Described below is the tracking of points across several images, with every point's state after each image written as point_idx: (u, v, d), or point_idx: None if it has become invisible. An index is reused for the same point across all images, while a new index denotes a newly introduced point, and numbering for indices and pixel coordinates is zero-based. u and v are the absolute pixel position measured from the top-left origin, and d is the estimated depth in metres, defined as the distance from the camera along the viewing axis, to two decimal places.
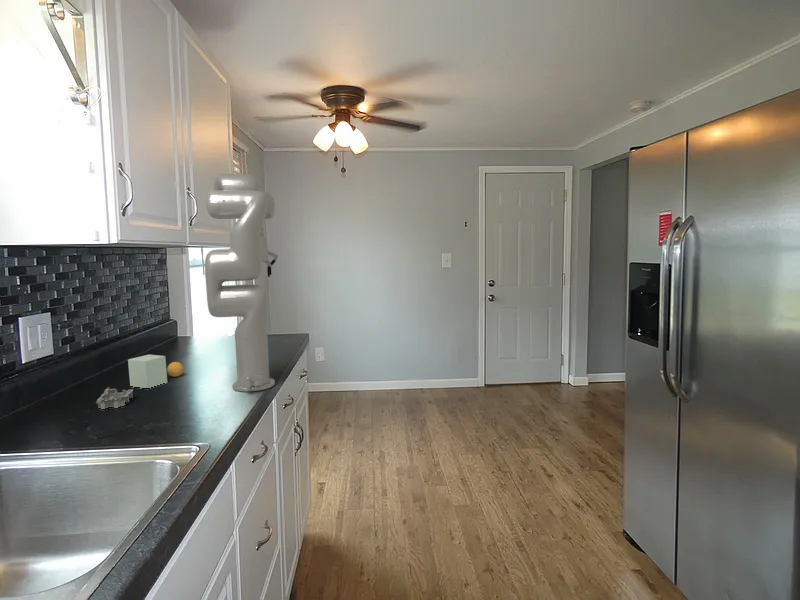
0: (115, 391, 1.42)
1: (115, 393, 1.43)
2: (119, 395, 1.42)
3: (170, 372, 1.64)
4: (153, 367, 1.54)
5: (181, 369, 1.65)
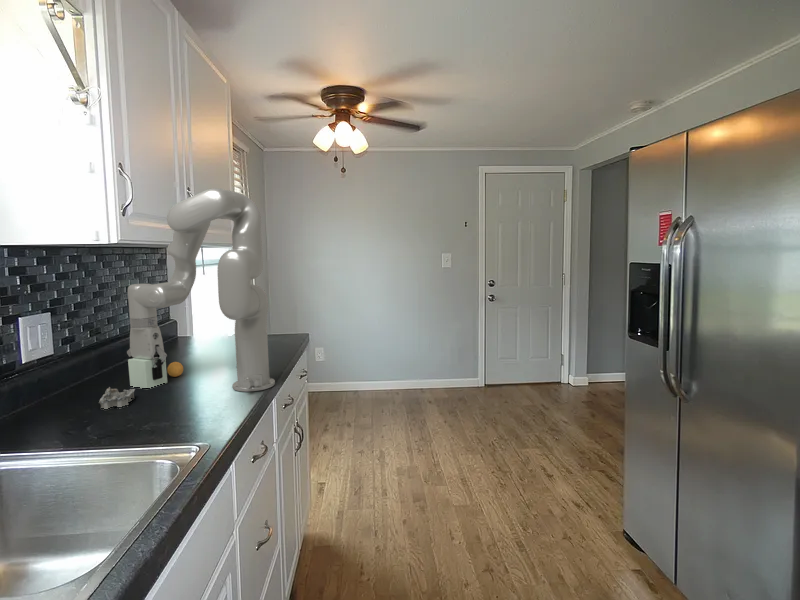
0: (116, 391, 1.43)
1: (116, 393, 1.43)
2: (120, 395, 1.42)
3: (170, 372, 1.64)
4: None
5: (181, 369, 1.65)
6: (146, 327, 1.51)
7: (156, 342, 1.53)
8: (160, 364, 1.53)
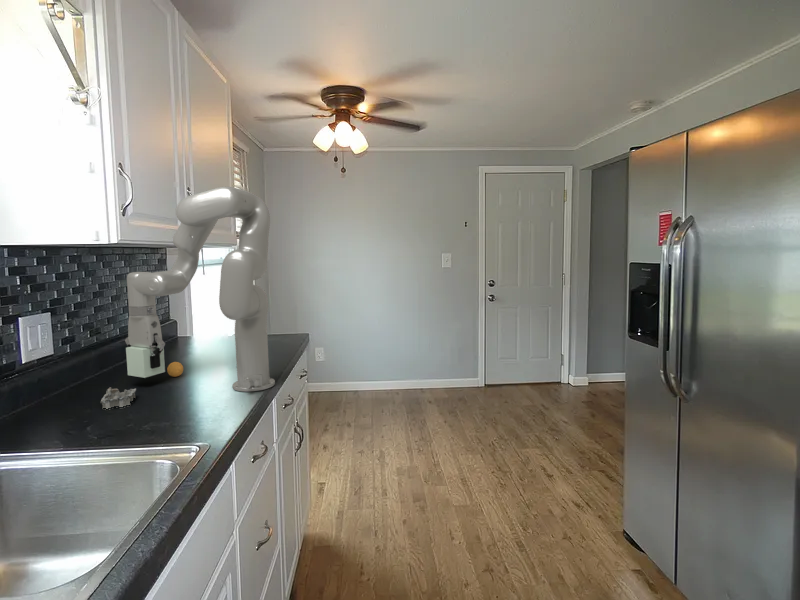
0: (117, 391, 1.43)
1: (117, 393, 1.43)
2: (121, 395, 1.42)
3: (170, 372, 1.64)
4: None
5: (181, 369, 1.65)
6: (145, 315, 1.51)
7: (154, 331, 1.52)
8: (158, 353, 1.53)
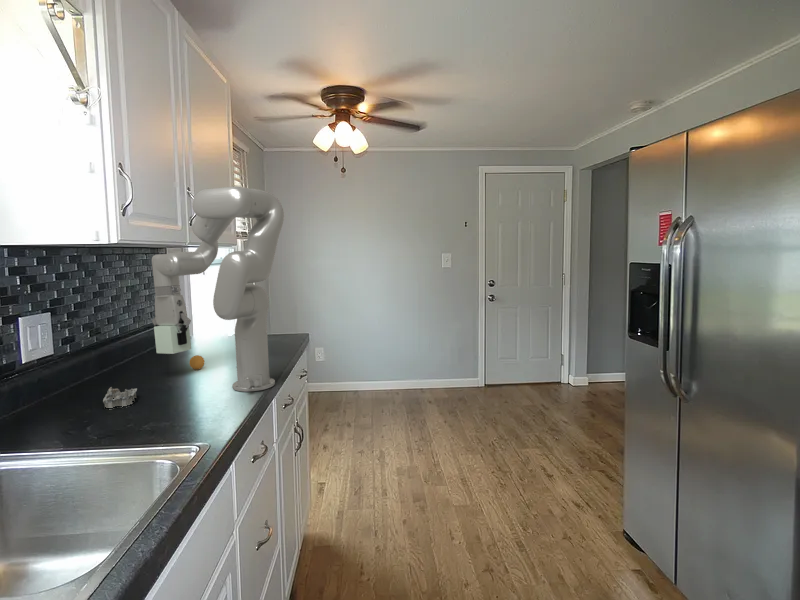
0: (117, 391, 1.43)
1: (117, 393, 1.43)
2: (122, 395, 1.42)
3: None
4: None
5: (202, 362, 1.74)
6: (170, 294, 1.59)
7: (180, 309, 1.60)
8: (184, 330, 1.61)
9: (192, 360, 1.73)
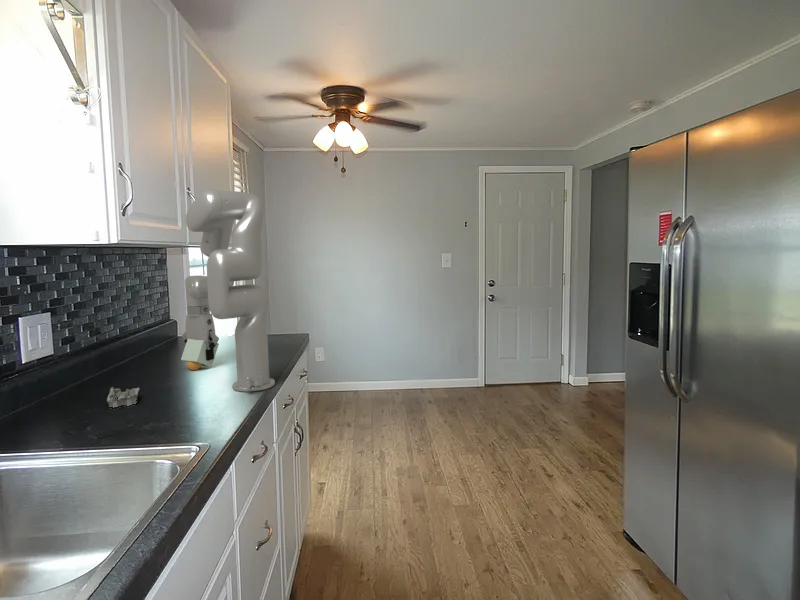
0: (118, 391, 1.43)
1: (118, 393, 1.43)
2: (124, 394, 1.42)
3: None
4: None
5: (199, 363, 1.73)
6: (201, 314, 1.72)
7: (209, 327, 1.73)
8: (213, 347, 1.74)
9: (189, 364, 1.72)
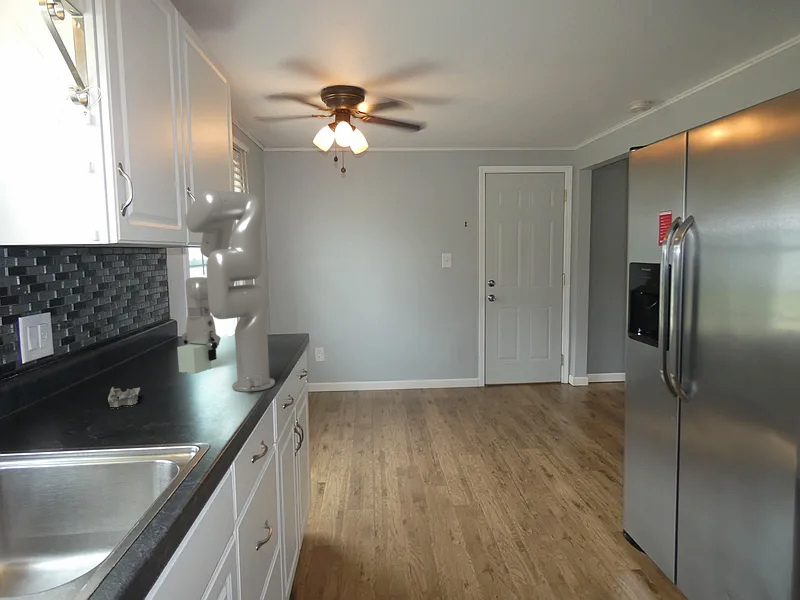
0: (119, 391, 1.43)
1: (119, 393, 1.43)
2: None
3: None
4: (200, 354, 1.71)
5: None
6: (202, 315, 1.72)
7: (210, 329, 1.73)
8: (215, 347, 1.73)
9: None
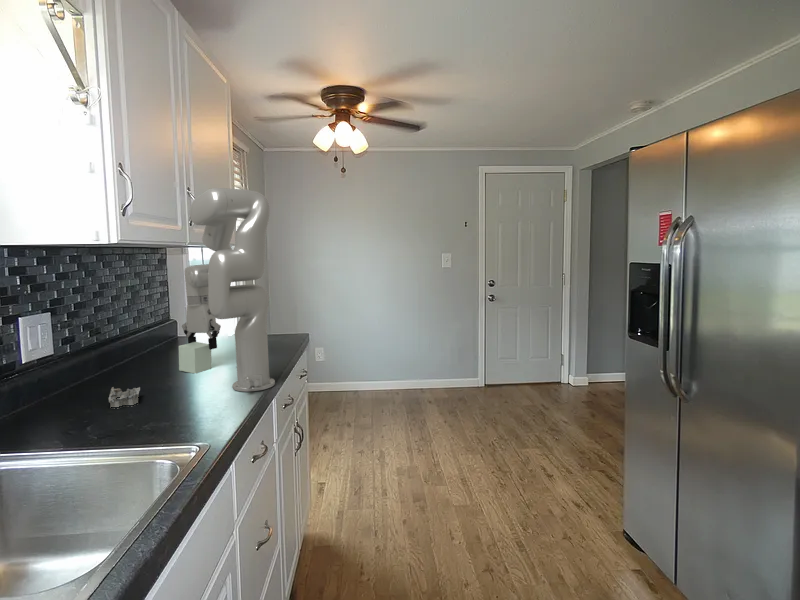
0: (119, 391, 1.43)
1: (119, 393, 1.43)
2: (124, 394, 1.42)
3: None
4: (201, 354, 1.71)
5: None
6: (201, 304, 1.71)
7: (210, 317, 1.72)
8: (215, 335, 1.72)
9: None
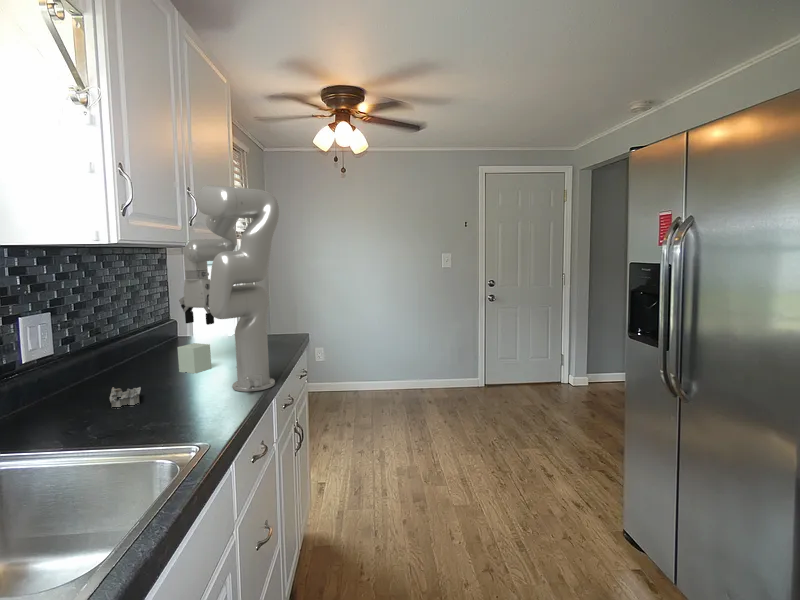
0: (119, 391, 1.43)
1: (119, 393, 1.43)
2: None
3: None
4: (200, 354, 1.71)
5: None
6: (199, 278, 1.70)
7: (208, 292, 1.72)
8: None
9: None
